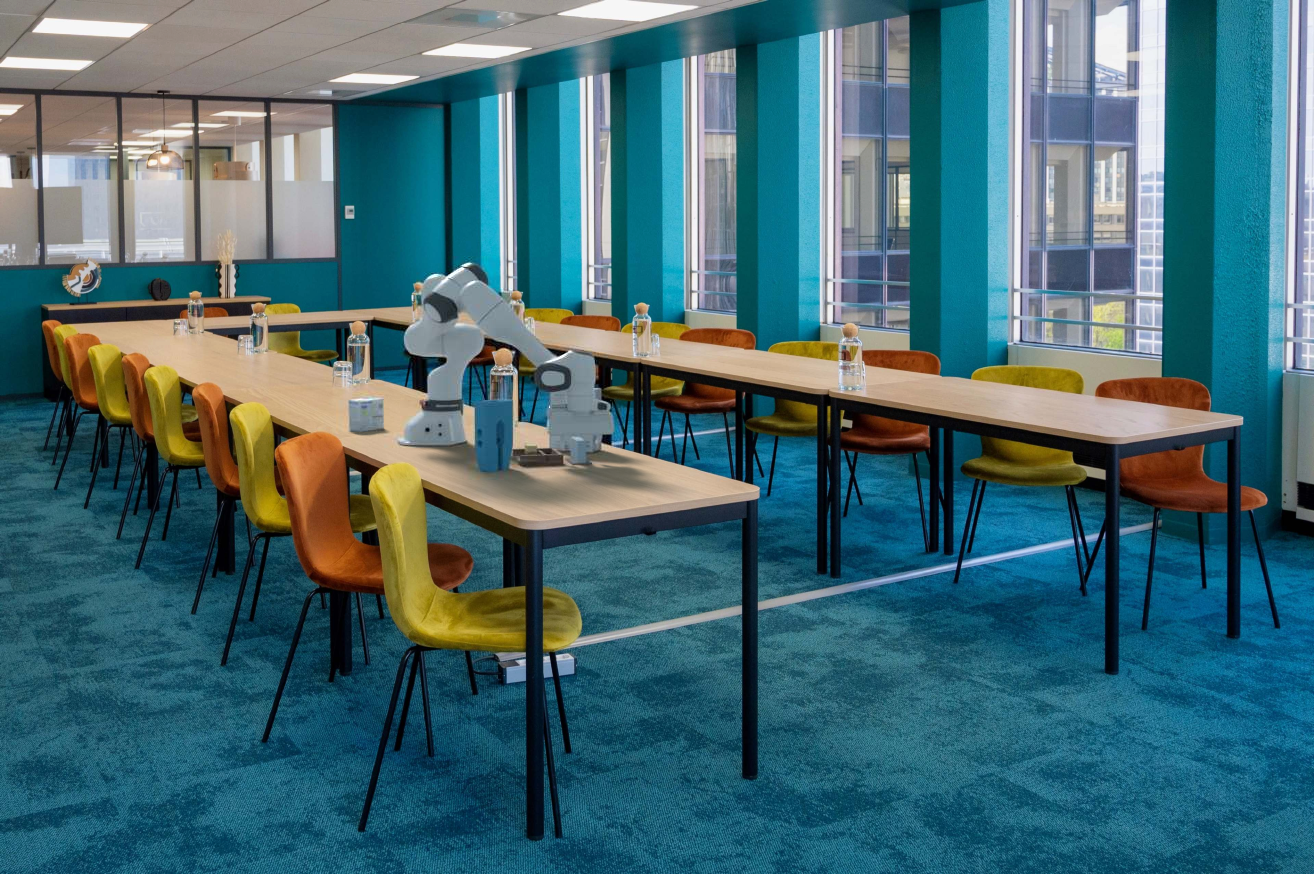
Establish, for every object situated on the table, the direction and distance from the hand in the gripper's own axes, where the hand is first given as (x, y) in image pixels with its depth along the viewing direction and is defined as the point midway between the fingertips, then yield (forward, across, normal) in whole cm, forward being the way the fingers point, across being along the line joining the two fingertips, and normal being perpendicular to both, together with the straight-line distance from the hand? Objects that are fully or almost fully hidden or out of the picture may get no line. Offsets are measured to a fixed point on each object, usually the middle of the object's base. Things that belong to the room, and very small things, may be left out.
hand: (580, 449), depth 377 cm
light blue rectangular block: (+4, 0, +2) cm, 4 cm away
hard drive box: (+4, +4, +24) cm, 25 cm away
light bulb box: (+4, -57, +81) cm, 99 cm away
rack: (+4, -12, +5) cm, 14 cm away
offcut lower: (+3, -14, +8) cm, 16 cm away
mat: (+4, 0, +2) cm, 5 cm away
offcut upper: (+1, -14, +8) cm, 16 cm away
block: (+4, -27, -5) cm, 28 cm away
